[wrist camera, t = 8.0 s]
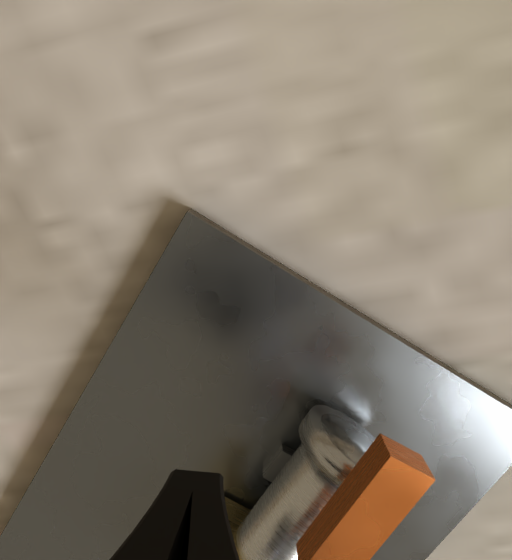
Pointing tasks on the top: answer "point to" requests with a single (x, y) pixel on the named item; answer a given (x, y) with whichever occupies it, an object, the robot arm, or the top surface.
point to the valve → (254, 412)
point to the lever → (367, 504)
